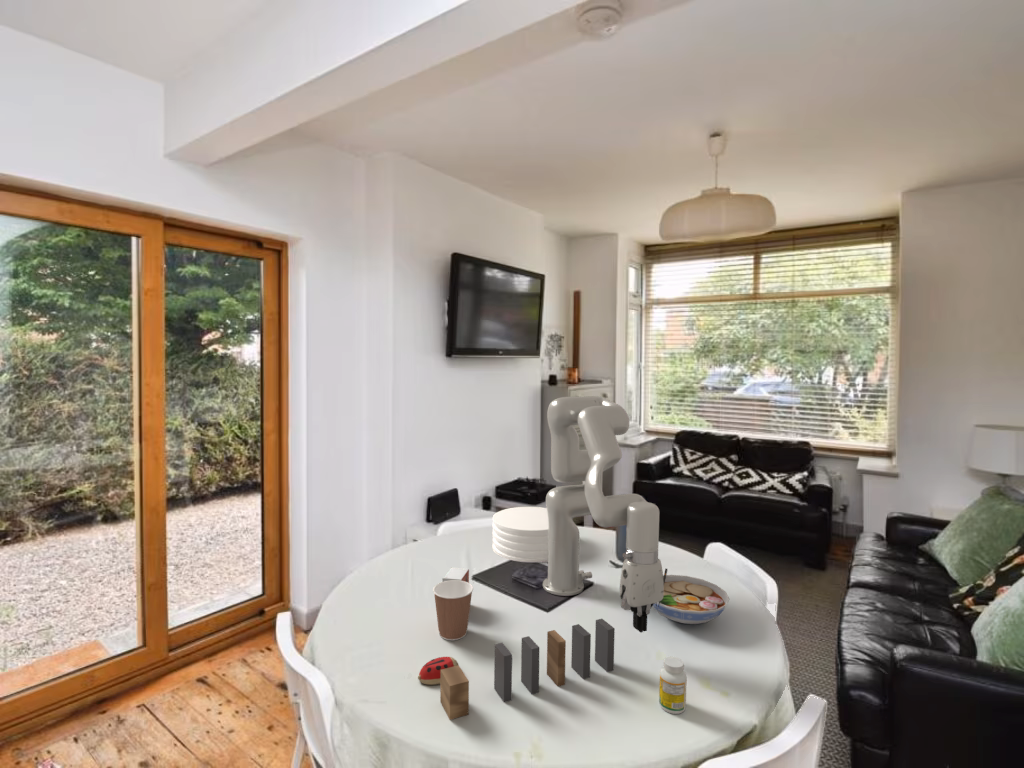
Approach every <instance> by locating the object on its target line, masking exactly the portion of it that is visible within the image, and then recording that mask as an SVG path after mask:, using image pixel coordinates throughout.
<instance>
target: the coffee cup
mask: <svg viewBox="0 0 1024 768" xmlns="http://www.w3.org/2000/svg"><path fill="white" fill-rule="evenodd" d="M473 592H474V586H473V585H472V584H471V583H470V582H469V583H468V582H465V581H460V580H450V581H444V582H442V581H441V582H439V583H437V584H436V585H434V586H433V588H432V593H433V594H434V601H435V602H434V603H435V611H436V618H437V619H436V620H437V627H438V632H439V636H440V638H442V639H444V640H447V641H458V640H461V639H463V638H464V637H465V636H466V635H467V631H468V625H469V619H470V612H471V603H472V602H471V601H472V596H473V595H472V594H473Z"/></svg>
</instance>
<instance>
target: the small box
mask: <svg viewBox="0 0 1024 768" xmlns="http://www.w3.org/2000/svg"><path fill="white" fill-rule="evenodd" d="M441 579H442V581H441V582H444V581H450V580H460V581H465V582H468V583H470V569H469V568H464V567H463V568H461V567H450V568H449V570H448V571H447V573H446V574H445V575H444V576H443V577H442V578H441Z"/></svg>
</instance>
